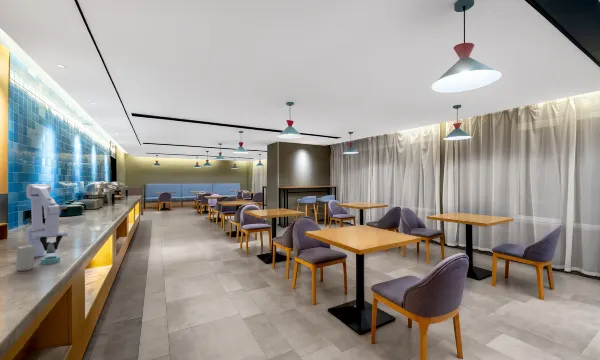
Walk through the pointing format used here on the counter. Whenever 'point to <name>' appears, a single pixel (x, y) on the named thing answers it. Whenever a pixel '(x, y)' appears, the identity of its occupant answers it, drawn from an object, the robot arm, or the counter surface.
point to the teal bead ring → (50, 260)
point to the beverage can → (25, 258)
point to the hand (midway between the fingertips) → (50, 249)
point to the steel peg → (50, 247)
